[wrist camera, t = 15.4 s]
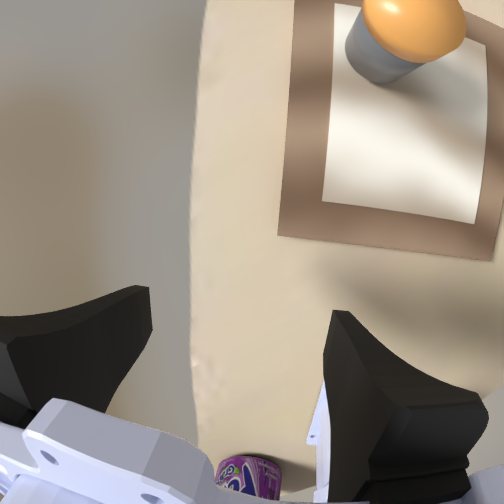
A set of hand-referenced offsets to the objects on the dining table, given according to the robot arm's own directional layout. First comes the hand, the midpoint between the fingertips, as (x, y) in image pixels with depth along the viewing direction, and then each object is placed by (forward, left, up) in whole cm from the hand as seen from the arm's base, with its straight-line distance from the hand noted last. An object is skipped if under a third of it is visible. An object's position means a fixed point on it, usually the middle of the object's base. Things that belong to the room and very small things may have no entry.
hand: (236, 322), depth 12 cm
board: (+10, -9, -10) cm, 17 cm away
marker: (+13, -6, -9) cm, 17 cm away
